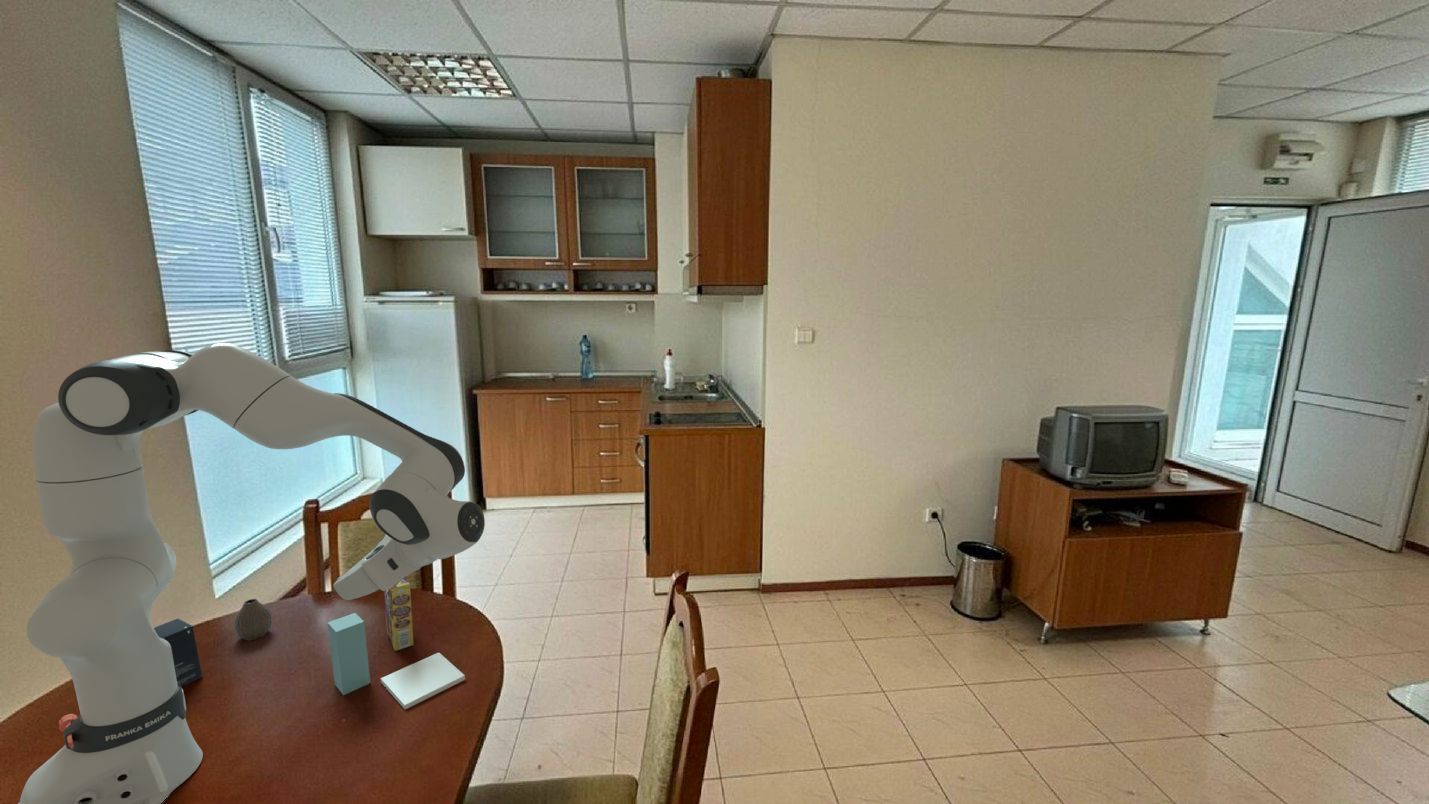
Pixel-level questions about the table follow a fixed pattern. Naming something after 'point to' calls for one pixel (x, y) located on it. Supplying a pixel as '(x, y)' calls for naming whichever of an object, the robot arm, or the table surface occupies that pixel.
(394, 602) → the candy box
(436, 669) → the pad
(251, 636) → the vase
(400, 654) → the table surface
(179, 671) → the small box
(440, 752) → the table surface
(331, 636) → the teal block
